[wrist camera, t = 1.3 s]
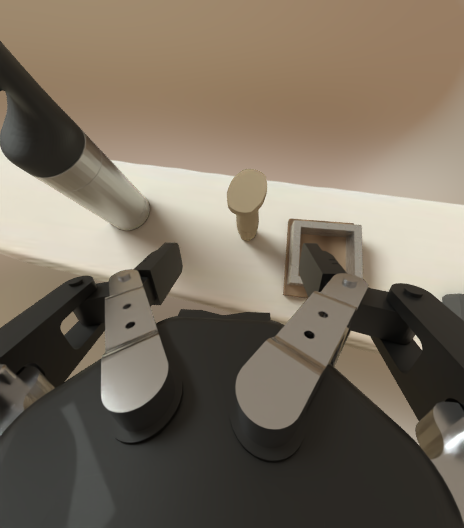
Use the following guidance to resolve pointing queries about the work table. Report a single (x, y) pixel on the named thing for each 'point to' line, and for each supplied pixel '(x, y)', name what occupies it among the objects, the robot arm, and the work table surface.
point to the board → (326, 243)
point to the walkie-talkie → (455, 304)
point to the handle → (247, 200)
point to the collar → (325, 229)
